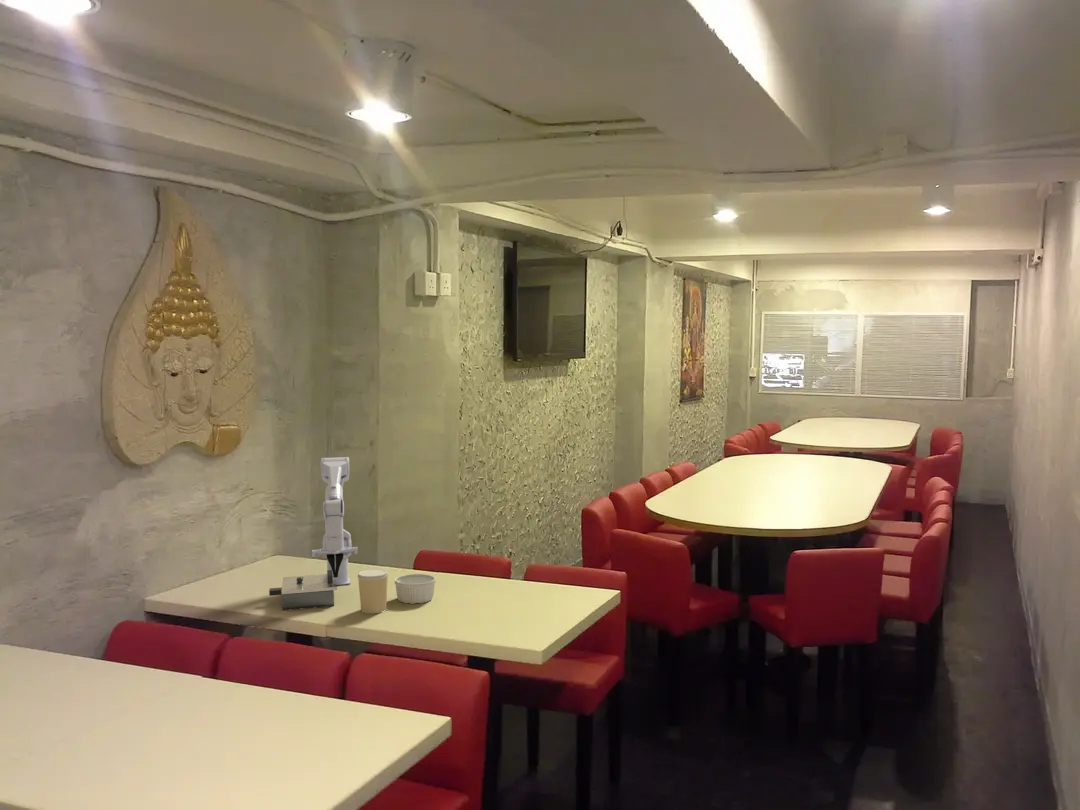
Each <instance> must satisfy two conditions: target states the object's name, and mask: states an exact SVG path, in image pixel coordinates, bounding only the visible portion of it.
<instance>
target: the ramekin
mask: <svg viewBox="0 0 1080 810" xmlns="http://www.w3.org/2000/svg"><path fill="white" fill-rule="evenodd" d="M436 581H437V579H436V577H435V576H433V575H431V574H426V573H408V574H404V575H400V576H397V577H396V578H394V585H395V591H396V598H397V599H398V601H399V602H400V601H401V602H400V603H402V602H404V603H403V604H407V603H410V604H409V605H416V604H415V603H420V604H424V603H423V602H425V603H428V602H430V601H431V600H432V599H433V597H434V593H435V584H436ZM427 601H428V602H427Z"/></svg>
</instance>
